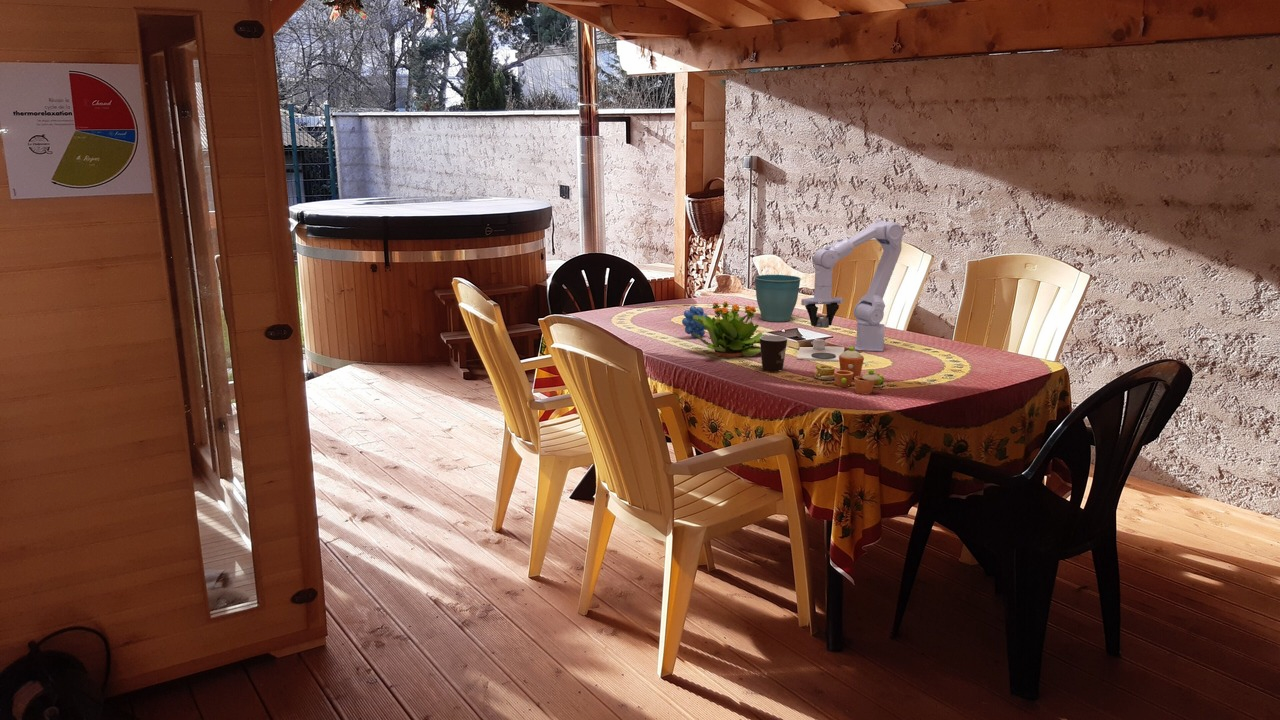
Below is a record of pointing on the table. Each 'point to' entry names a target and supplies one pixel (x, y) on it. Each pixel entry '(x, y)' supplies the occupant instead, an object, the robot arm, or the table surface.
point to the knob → (822, 321)
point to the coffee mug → (773, 352)
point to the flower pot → (777, 296)
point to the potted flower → (731, 332)
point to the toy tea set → (851, 372)
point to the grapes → (693, 325)
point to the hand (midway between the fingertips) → (821, 325)
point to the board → (820, 352)
